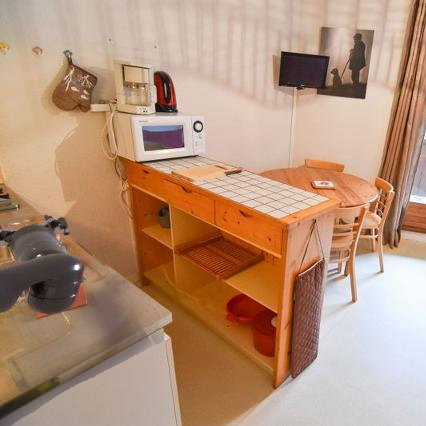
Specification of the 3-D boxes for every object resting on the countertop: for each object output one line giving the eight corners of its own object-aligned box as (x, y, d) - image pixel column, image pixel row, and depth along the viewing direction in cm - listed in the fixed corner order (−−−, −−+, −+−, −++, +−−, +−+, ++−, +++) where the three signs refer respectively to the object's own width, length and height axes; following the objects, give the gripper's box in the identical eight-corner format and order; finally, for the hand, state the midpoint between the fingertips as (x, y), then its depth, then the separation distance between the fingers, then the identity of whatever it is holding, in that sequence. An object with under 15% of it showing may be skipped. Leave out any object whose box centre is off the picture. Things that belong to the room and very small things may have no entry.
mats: (37, 318, 85) (36, 317, 85) (38, 276, 101) (38, 275, 101) (87, 304, 92) (86, 303, 92) (80, 267, 108) (80, 266, 108)
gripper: (74, 223, 70) (56, 201, 80) (-17, 243, 60) (-25, 215, 70) (81, 252, 73) (63, 228, 83) (-4, 276, 63) (-14, 245, 73)
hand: (23, 222), depth 76 cm, fingers open, 8 cm apart
